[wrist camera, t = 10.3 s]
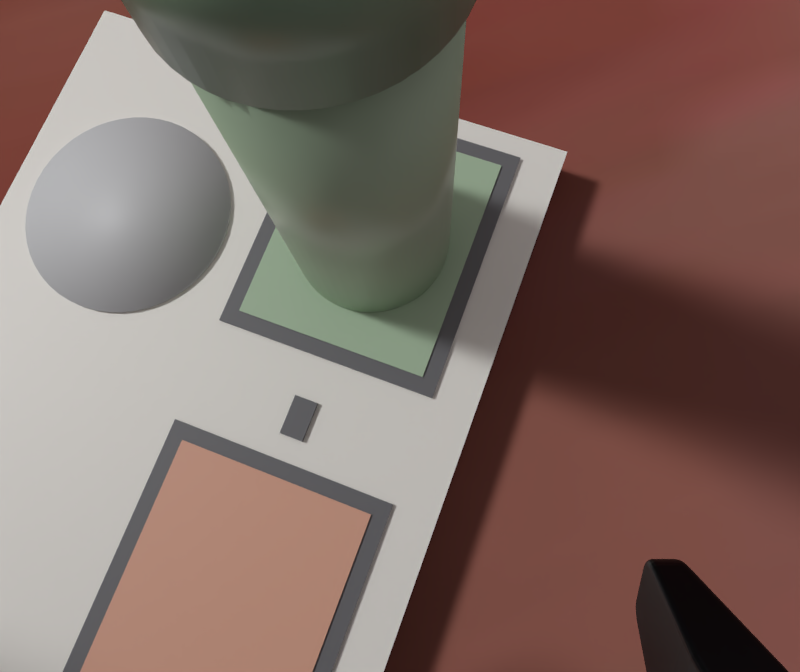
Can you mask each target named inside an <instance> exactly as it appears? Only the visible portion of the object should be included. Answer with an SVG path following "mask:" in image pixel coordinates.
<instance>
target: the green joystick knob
mask: <svg viewBox="0 0 800 672" xmlns="http://www.w3.org/2000/svg"><path fill="white" fill-rule="evenodd" d="M121 1H122V2H123V4H124V5H125V7H126V9H127V10H128V12H129V13H130V15H131V17H132V18H133V20H134V21H135V23H136V24H137V26H138V28H139V29H140V31H141V32H142V34H143V35H144V37H145V38H146V40H147V41H148V42H149V44H150V45H151V47H152V48H153V49H154V51H155V52H156V53H157V54H158V55H159V56H160V57H161V58H162V59H163V60H164V61H165V62H166V63H167V64H168V65H169V66H170V67H171V68H172V69H173V70H175V71H176V72H177V73H178V74H180V75H181V76H182V77H184V78H185V79H186V80H188V81H189V82H191V84H192V85H193V87H194V89H195V90H196V92H197V94H198V95H199V97H200V99H201V101H202V102H203V104H204V106H205V107H206V109H207V111H208V112H209V114H210V116H211V118H212V119H213V121H214V123H215V124H216V126H217V128H218V129H219V131H220V133H221V135H222V136H223V138H224V140H225V141H226V143H227V145H228V146H229V148H230V150H231V152H232V153H233V155H234V157H235V158H236V160H237V162H238V163H239V165H240V167H241V169H242V170H243V172H244V174H245V175H246V177H247V179H248V180H249V182H250V184H251V186H252V187H253V189H254V191H255V192H256V194H257V196H258V197H259V199H260V201H261V203H262V204H263V206H264V208H265V209H266V211H267V213H268V214H269V216H270V218H271V220H272V221H273V223H274V225H275V226H276V228H277V230H278V231H279V233H280V235H281V237H282V238H283V240H284V242H285V243H286V245H287V247H288V248H289V250H290V252H291V254H292V255H293V257H294V259H295V260H296V262H297V264H298V265H299V267H300V269H301V271H302V272H303V274H304V276H305V277H306V279H307V280H308V282H309V283H310V284H311V286H312V287H313V288H314V289H315V290H316V291H317V292H318V293H319V294H320V295H322V296H323V297H324V298H325V299H327V300H329V301H330V302H332V303H334V304H336V305H338V306H340V307H343V308H346V309H349V310H353V311H359V312H383V311H388V310H392V309H395V308H398V307H401V306H404V305H406V304H407V303H409V302H411V301H413V300H415V299H416V298H417V297H419V296H420V295H422V294H423V293H424V292H425V291H426V290H427V289H428V288H429V287H430V286H431V285H432V284H433V282H434V281H435V280H436V278H437V277H438V275H439V274H440V272H441V270H442V268H443V266H444V264H445V261H446V257H447V254H448V249H449V240H450V227H451V214H452V201H453V187H454V174H455V161H456V148H457V134H458V121H459V108H460V95H461V81H462V68H463V55H464V42H465V28H466V19H467V18H468V16H469V14H470V12H471V10H472V8H473V6H474V4H475V2H476V0H121Z"/></svg>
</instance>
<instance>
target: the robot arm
mask: <svg viewBox="0 0 800 672" xmlns="http://www.w3.org/2000/svg"><path fill="white" fill-rule="evenodd" d="M636 617H637V624H638V629H639V634H640V639H641V645H642V650H643V655H644V660H645V666H646V671H647V672H788V671H787V670H786V669H785V667H784V666H783V665H782V664H781V663H780V662H779V661H778V660H777V659H776V658H775V657H774V656H773V655H772V654H771V653H770V652H769V651H768V650H767V649H766V648H765V646H764V645H763V644H762V643H761V642H760V641H759V640H758V639H757V638H756V637H755V636H754V635H753V634H752V633H751V632H750V631H749V630H748V629H747V628H746V627H745V625H744V624H743V623H742V622H741V621H740V620H739V619H738V618H737V617H736V616H735V615H734V614H733V613H732V612H731V611H730V610H729V609H728V608H727V607H726V606H725V604H724V603H723V602H722V601H721V600H720V599H719V598H718V597H717V596H716V595H715V594H714V593H713V592H712V591H711V590H710V589H709V588H708V587H707V586H706V584H705V583H704V582H703V581H702V580H701V579H700V578H699V577H698V576H697V575H696V574H695V573H694V572H693V571H692V570H691V569H690V568H689V567H688V566H687V565H686V564H685V563H684V562H682V561H680V560H677V559H651V560H648V561H647V562H646V563H645V566H644V569H643V573H642V578H641V582H640V587H639V591H638V596H637V600H636Z"/></svg>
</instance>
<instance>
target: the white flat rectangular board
mask: <svg viewBox="0 0 800 672" xmlns="http://www.w3.org/2000/svg"><path fill="white" fill-rule="evenodd" d="M566 154H567V152H566V151H563V150H560V149H556V148H553V147H550V146H546V145H543V144H540V143H537V142H533V141H530V140H527V139H524V138H520V137H517V136H514V135H510V134H507V133H504V132H501V131H497V130H494V129H491V128H488V127H484V126H481V125H478V124H474V123H471V122H468V121H465V120H461V119H459V121H458V134H457V148H456V161H455V174H454V187H453V201H452V214H451V227H450V240H449V249H448V254H447V257H446V261H445V264H444V266H443V268H442V270H441V272H440V274H439V275H438V277H437V278H436V280H435V281H434V282H433V284H432V285H431V286H430V287H429V288H428V289H427V290H426V291H425V292H424V293H423V294H422V295H420V296H419V297H417V298H416V299H415V300H413V301H411V302H409V303H407V304H406V305H404V306H401V307H398V308H395V309H392V310H388V311H383V312H359V311H353V310H349V309H346V308H343V307H340V306H338V305H336V304H334V303H332V302H330V301H329V300H327V299H325V298H324V297H323V296H322V295H320V294H319V293H318V292H317V291H316V290H315V289H314V288H313V287H312V286H311V284H310V283H309V282H308V280H307V279H306V277H305V276H304V274H303V272H302V271H301V269H300V267H299V265H298V264H297V262H296V260H295V259H294V257H293V255H292V254H291V252H290V250H289V248H288V247H287V245H286V243H285V242H284V240H283V238H282V237H281V235H280V233H279V231H278V230H277V228H276V226H275V225H274V223H273V221H272V220H271V218H270V216H269V214H268V213H267V211H266V209H265V208H264V206H263V204H262V203H261V201H260V199H259V197H258V196H257V194H256V192H255V191H254V189H253V187H252V186H251V184H250V182H249V180H248V179H247V177H246V175H245V174H244V172H243V170H242V169H241V167H240V165H239V163H238V162H237V160H236V158H235V157H234V155H233V153H232V152H231V150H230V148H229V146H228V145H227V143H226V141H225V140H224V138H223V136H222V135H221V133H220V131H219V129H218V128H217V126H216V124H215V123H214V121H213V119H212V118H211V116H210V114H209V112H208V111H207V109H206V107H205V106H204V104H203V102H202V101H201V99H200V97H199V95H198V94H197V92H196V90H195V89H194V87H193V85H192V84H191V82H189V81H188V80H186V79H185V78H184V77H182V76H181V75H180V74H178V73H177V72H176V71H175V70H173V69H172V68H171V67H170V66H169V65H168V64H167V63H166V62H165V61H164V60H163V59H162V58H161V57H160V56H159V55H158V54H157V53H156V52H155V51H154V49H153V48H152V47H151V45H150V44H149V42H148V41H147V40H146V38H145V37H144V35H143V34H142V32H141V31H140V29H139V28H138V26H137V24H136V23H135V21H134V20H133V19H131V18H127V17H124V16H121V15H118V14H114V13H111V12H108V11H104V13H103V15H102V16H101V18H100V20H99V22H98V24H97V26H96V28H95V29H94V31H93V33H92V35H91V37H90V39H89V41H88V43H87V44H86V46H85V48H84V50H83V52H82V54H81V56H80V58H79V59H78V61H77V63H76V65H75V67H74V69H73V71H72V73H71V74H70V76H69V78H68V80H67V82H66V84H65V86H64V88H63V89H62V91H61V93H60V95H59V97H58V99H57V101H56V102H55V104H54V106H53V108H52V110H51V112H50V114H49V116H48V117H47V119H46V121H45V123H44V125H43V127H42V129H41V131H40V132H39V134H38V136H37V138H36V140H35V142H34V144H33V146H32V147H31V149H30V151H29V153H28V155H27V157H26V159H25V161H24V162H23V164H22V166H21V168H20V170H19V172H18V174H17V175H16V177H15V179H14V181H13V183H12V185H11V187H10V189H9V190H8V192H7V194H6V196H5V198H4V200H3V202H2V204H1V205H0V672H384V670H385V667H386V664H387V661H388V658H389V655H390V653H391V650H392V647H393V644H394V641H395V638H396V636H397V633H398V630H399V627H400V624H401V621H402V619H403V616H404V613H405V610H406V607H407V604H408V602H409V599H410V596H411V593H412V590H413V587H414V585H415V582H416V579H417V576H418V573H419V570H420V568H421V565H422V562H423V559H424V556H425V553H426V551H427V548H428V545H429V542H430V539H431V536H432V534H433V531H434V528H435V525H436V522H437V519H438V517H439V514H440V511H441V508H442V505H443V502H444V500H445V497H446V494H447V491H448V488H449V485H450V483H451V480H452V477H453V474H454V471H455V468H456V466H457V463H458V460H459V457H460V454H461V451H462V449H463V446H464V443H465V440H466V437H467V434H468V432H469V429H470V426H471V423H472V420H473V417H474V415H475V412H476V409H477V406H478V403H479V400H480V398H481V395H482V392H483V389H484V386H485V383H486V381H487V378H488V375H489V372H490V369H491V366H492V364H493V361H494V358H495V355H496V352H497V349H498V347H499V344H500V341H501V338H502V335H503V332H504V330H505V327H506V324H507V321H508V318H509V315H510V313H511V310H512V307H513V304H514V301H515V298H516V296H517V293H518V290H519V287H520V284H521V281H522V279H523V276H524V273H525V270H526V267H527V264H528V262H529V259H530V256H531V253H532V250H533V247H534V245H535V242H536V239H537V236H538V233H539V230H540V228H541V225H542V222H543V219H544V216H545V213H546V211H547V208H548V205H549V202H550V199H551V196H552V194H553V191H554V188H555V185H556V182H557V179H558V177H559V174H560V171H561V168H562V165H563V162H564V160H565V157H566Z"/></svg>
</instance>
